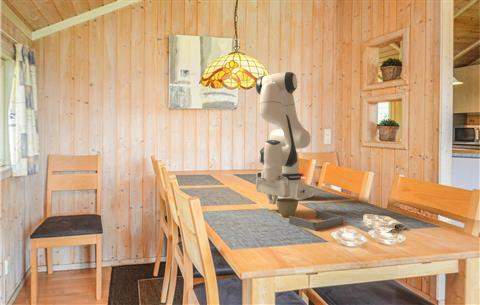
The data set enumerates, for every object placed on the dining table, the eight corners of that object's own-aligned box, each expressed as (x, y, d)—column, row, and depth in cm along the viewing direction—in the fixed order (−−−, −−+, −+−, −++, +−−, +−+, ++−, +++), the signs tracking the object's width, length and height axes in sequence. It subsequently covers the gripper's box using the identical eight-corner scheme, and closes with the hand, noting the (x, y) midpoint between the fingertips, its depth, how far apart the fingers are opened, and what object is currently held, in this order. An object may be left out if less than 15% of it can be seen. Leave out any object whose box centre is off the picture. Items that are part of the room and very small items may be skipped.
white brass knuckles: (409, 233, 150) (373, 233, 149) (387, 221, 168) (355, 221, 167) (409, 224, 150) (373, 225, 149) (387, 213, 168) (355, 214, 167)
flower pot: (272, 214, 178) (272, 199, 177) (290, 212, 182) (291, 197, 181) (282, 219, 169) (283, 203, 168) (302, 217, 172) (302, 201, 172)
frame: (317, 217, 173) (317, 210, 173) (343, 223, 162) (343, 216, 162) (289, 223, 162) (289, 216, 161) (315, 230, 151) (315, 223, 151)
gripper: (293, 176, 175) (293, 206, 176) (263, 172, 191) (263, 199, 192) (283, 177, 171) (283, 208, 172) (253, 173, 187) (253, 201, 188)
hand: (272, 203), depth 182 cm, fingers closed
